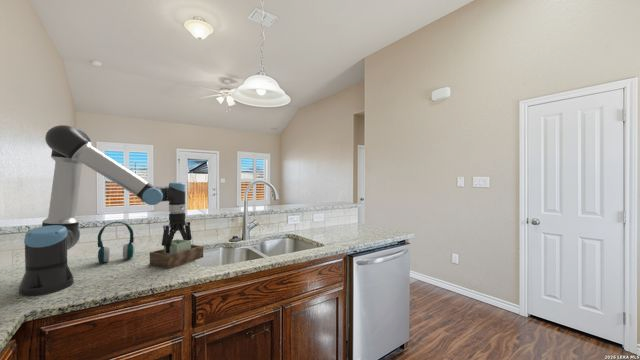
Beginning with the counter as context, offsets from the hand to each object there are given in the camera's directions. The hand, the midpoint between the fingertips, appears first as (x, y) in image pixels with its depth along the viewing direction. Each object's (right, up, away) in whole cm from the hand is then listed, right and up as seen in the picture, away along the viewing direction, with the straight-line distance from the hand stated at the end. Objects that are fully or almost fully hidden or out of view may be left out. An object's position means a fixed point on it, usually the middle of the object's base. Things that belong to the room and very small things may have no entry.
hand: (177, 256), depth 140 cm
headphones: (-31, -2, 0) cm, 31 cm away
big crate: (0, -2, 0) cm, 2 cm away
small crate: (0, 0, 0) cm, 0 cm away
